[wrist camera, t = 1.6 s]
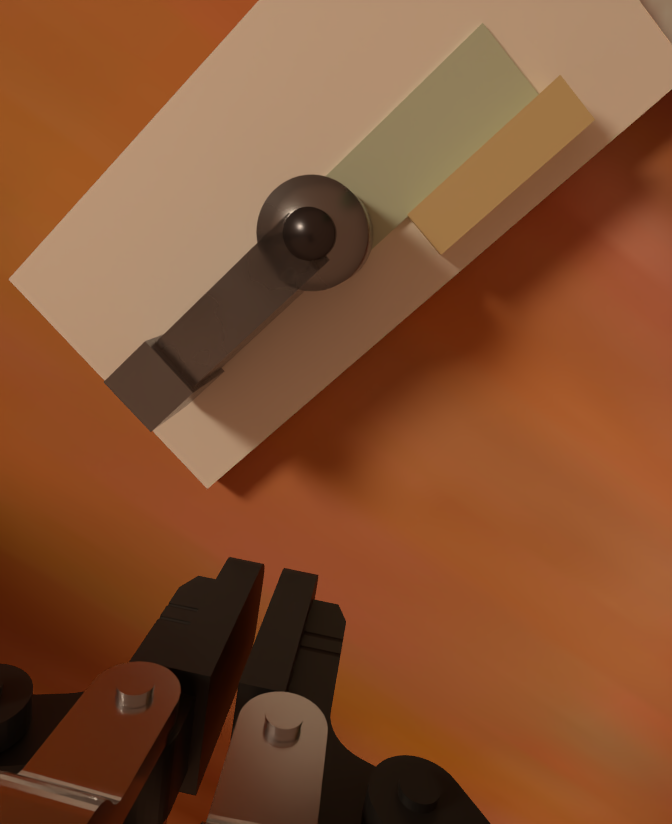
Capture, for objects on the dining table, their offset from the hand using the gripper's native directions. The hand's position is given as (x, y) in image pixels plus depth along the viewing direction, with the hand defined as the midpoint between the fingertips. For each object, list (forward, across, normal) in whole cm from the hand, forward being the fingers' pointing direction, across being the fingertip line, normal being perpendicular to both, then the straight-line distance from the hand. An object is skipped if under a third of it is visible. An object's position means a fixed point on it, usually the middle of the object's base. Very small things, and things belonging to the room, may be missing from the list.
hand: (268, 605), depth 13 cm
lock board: (+17, +3, -9) cm, 19 cm away
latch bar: (+15, +4, -4) cm, 17 cm away
